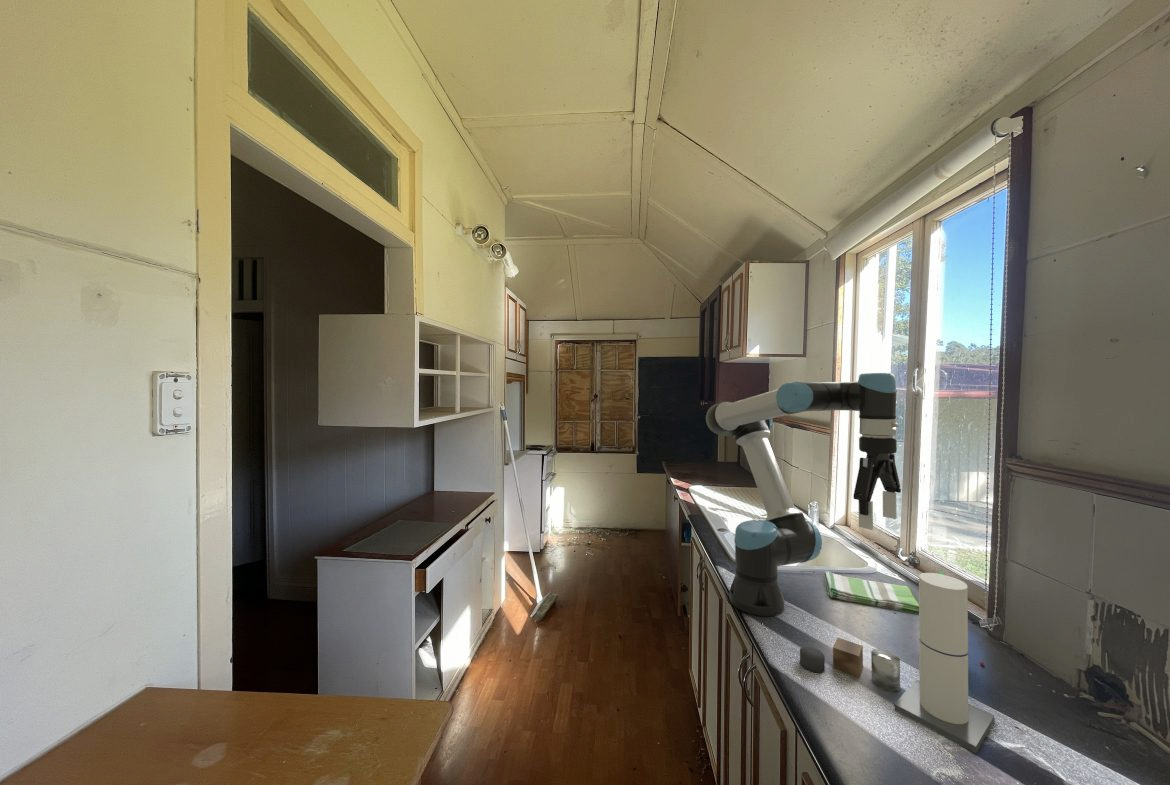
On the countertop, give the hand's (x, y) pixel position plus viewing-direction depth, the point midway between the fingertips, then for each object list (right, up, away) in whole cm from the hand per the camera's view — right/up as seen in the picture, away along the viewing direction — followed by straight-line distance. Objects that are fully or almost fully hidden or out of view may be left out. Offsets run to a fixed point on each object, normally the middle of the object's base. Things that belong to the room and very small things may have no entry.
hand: (878, 522), depth 101 cm
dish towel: (+16, -31, +27) cm, 44 cm away
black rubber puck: (-20, -31, -6) cm, 37 cm away
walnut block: (-12, -31, -7) cm, 34 cm away
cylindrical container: (-2, -30, -21) cm, 37 cm away
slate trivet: (-2, -31, -21) cm, 37 cm away
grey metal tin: (-7, -31, -12) cm, 34 cm away
